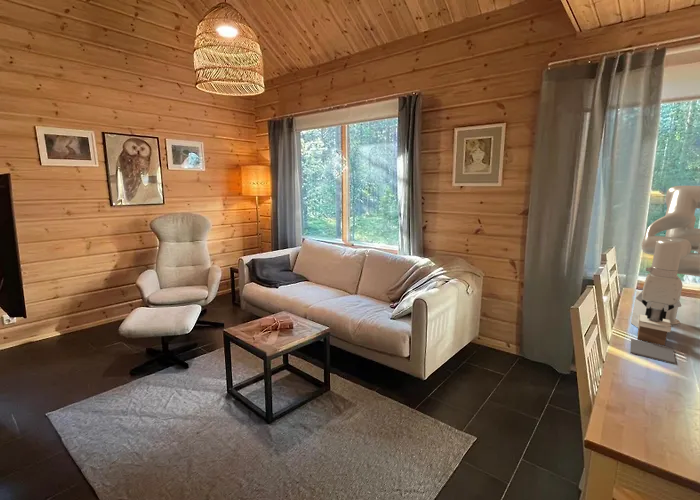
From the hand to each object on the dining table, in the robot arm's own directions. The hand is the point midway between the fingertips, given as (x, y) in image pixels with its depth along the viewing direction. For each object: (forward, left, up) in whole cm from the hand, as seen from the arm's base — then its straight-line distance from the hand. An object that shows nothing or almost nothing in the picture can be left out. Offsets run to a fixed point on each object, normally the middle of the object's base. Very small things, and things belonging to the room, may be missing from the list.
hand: (654, 318), depth 139 cm
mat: (+12, -6, -9) cm, 16 cm away
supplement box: (-12, +6, -9) cm, 16 cm away
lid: (0, 0, -3) cm, 3 cm away
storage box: (0, 0, -9) cm, 9 cm away
